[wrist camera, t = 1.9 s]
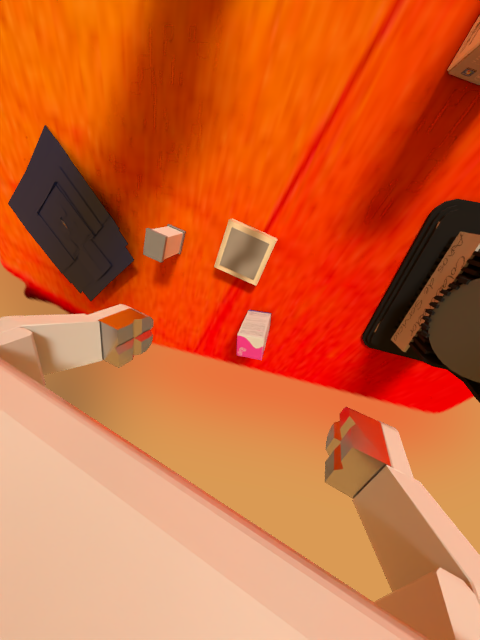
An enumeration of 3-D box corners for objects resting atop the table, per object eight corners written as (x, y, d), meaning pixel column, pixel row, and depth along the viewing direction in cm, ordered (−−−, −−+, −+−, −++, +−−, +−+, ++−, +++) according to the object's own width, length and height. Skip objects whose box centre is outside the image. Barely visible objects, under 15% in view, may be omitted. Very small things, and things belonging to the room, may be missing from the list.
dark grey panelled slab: (96, 301, 61) (84, 305, 58) (20, 205, 56) (3, 204, 53) (147, 254, 50) (136, 255, 47) (59, 129, 45) (40, 121, 42)
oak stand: (218, 263, 49) (213, 267, 46) (232, 218, 44) (228, 219, 41) (258, 281, 49) (256, 286, 46) (277, 238, 44) (276, 241, 41)
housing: (165, 246, 50) (143, 254, 43) (169, 224, 47) (146, 228, 40) (180, 253, 50) (161, 262, 43) (185, 231, 47) (165, 237, 40)
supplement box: (247, 309, 53) (236, 333, 43) (271, 312, 52) (266, 338, 42) (246, 329, 56) (235, 356, 46) (268, 332, 55) (263, 361, 45)
